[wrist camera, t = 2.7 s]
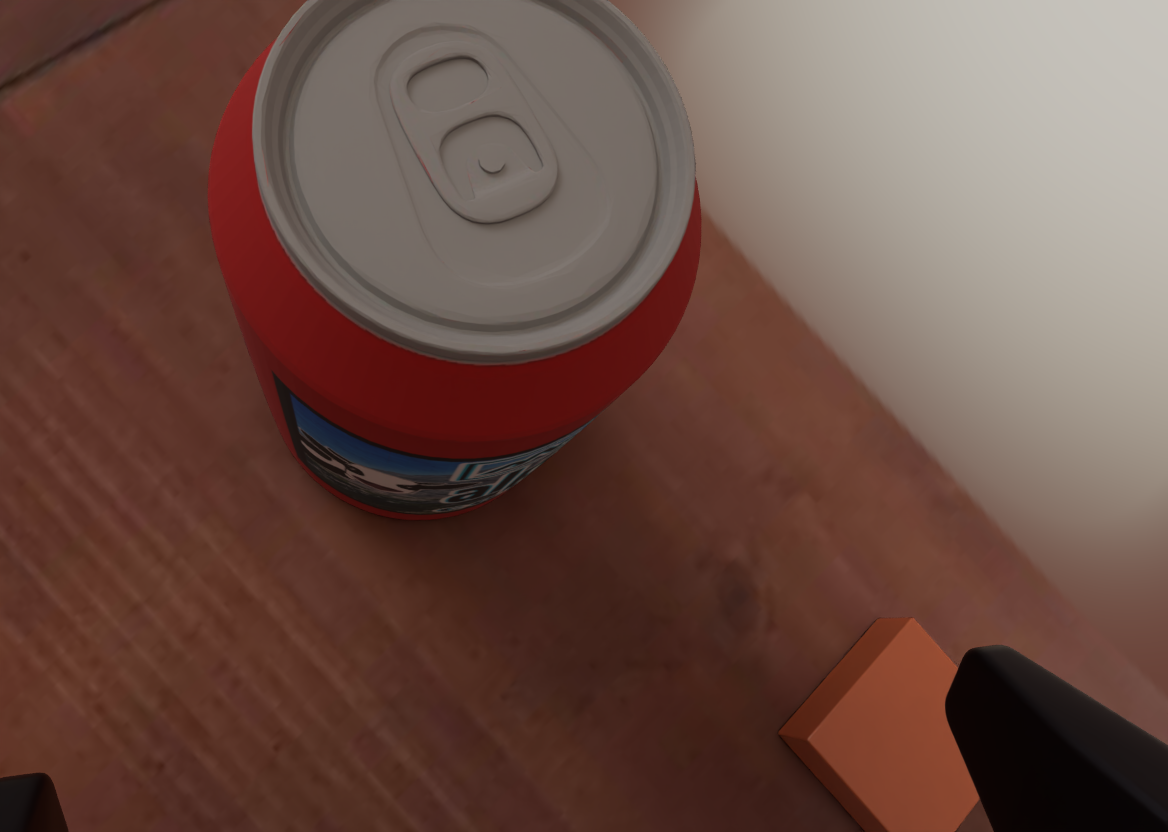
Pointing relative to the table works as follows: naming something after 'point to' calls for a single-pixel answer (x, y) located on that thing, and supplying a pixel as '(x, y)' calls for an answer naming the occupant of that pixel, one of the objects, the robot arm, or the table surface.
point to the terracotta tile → (887, 733)
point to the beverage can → (451, 236)
